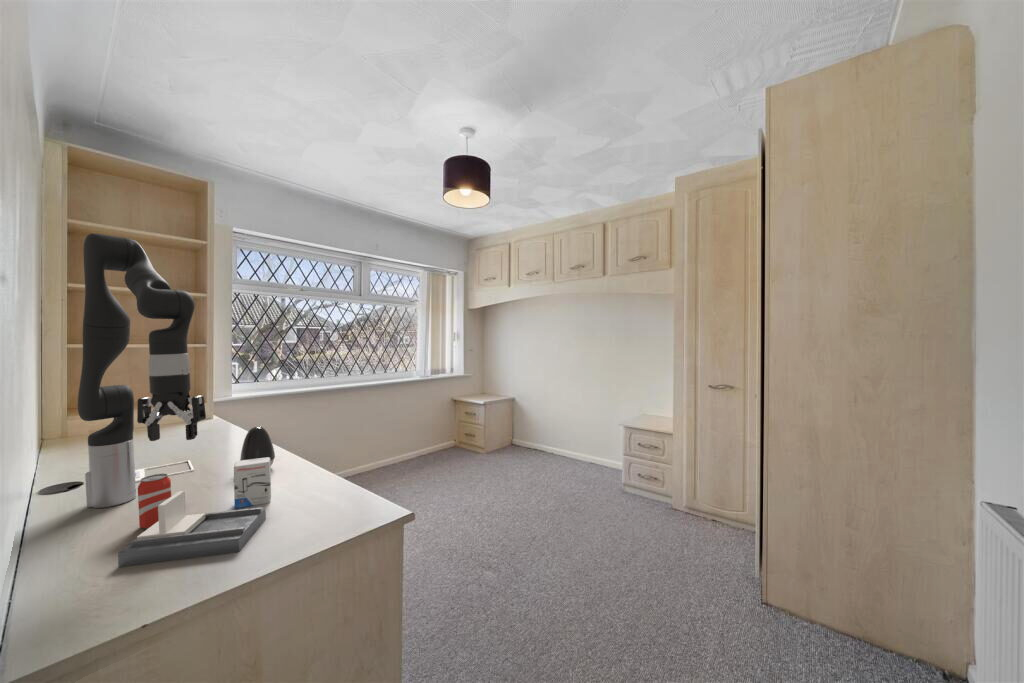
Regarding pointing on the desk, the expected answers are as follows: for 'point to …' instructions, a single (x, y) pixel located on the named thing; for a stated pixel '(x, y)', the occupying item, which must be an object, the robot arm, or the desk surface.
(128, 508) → the desk surface
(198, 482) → the desk surface
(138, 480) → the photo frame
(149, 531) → the t-shaped bracket
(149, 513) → the beverage can
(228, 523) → the socket plate
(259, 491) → the ink box
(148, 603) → the desk surface
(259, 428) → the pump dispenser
